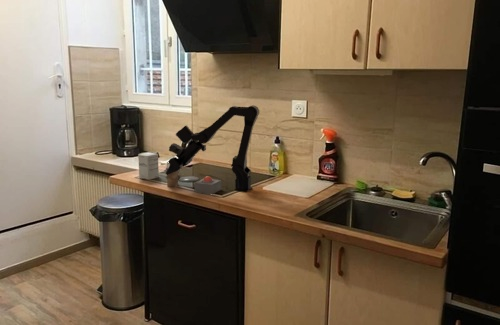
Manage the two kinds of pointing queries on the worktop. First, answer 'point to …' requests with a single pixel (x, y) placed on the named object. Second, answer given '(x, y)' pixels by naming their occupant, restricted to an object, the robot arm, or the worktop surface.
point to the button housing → (207, 186)
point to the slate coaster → (188, 179)
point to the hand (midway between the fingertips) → (169, 172)
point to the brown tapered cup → (172, 179)
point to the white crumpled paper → (168, 166)
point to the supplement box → (148, 165)
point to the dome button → (207, 180)
